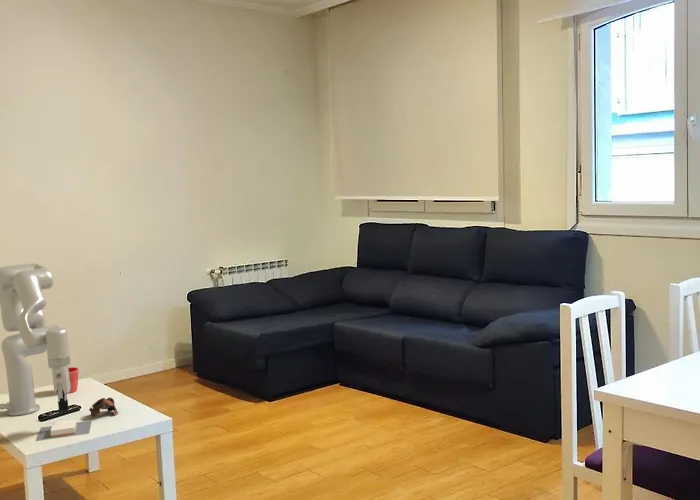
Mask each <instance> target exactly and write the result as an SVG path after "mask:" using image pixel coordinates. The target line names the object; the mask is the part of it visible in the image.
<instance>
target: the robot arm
mask: <svg viewBox="0 0 700 500" xmlns="http://www.w3.org/2000/svg"><path fill="white" fill-rule="evenodd" d="M52 274H53V273H51V271H50V269H48V268H47V267H46V266H43V265H41V264H39V263H24V264H16V265H7V266H2V267H0V315H1V321H2V326H3V328H4V331H6V332H9V333H10V332H19V333H18V334H17V333H16V334H12V335H8V336H6V337H5V338H3V339H2V341H1V344H0V347H1V348H0V349H1V352H2V356H3V359H4V363H5V364H4V365H5V369H6V370H5V371H6V380H7V388H8V389H7V390H8V398H9V399H8V400H9V401H8V402H6V403H0V410H1V411H2V410H5V409H6V411H5V412H6V415H8V416H13V417H14V416H25V415H29V414H33V413H35V412H37V411H39V410H40V409H41V405H40V404H37V403H36V396H35V395H36V394H35V386H34V385H35V384H34V375H33V367H32V365H31V363H30V362H29V361H27V360H26V357H27V358H28V357H30V356H35V355H40V354H43V353H45V352H47V353H46V355H47V365H48V369H51V372H52V383H53V391H54V394H55V395H57V404H58V405H57V406H58V412H59V413H62V412H68V411H69V402H68V401H69V400H68V394H70V393H69V391H70V388H71V385H70V378H69V370H68V368H69V366H71V358H70V348H69V347H70V346H69V336H68V335H69V334H68V330H67V328H63V327H61V326H60V325H47V324H46V316H45V312H44V310H43V309H45V307H46V306H47V299H46V297H45V295H44V293H43V291H44V290H47V289H48V290H50V289H51V288H52V287H53V285H54V276H53V275H52ZM67 393H68V394H67Z"/></svg>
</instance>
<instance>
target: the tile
mask: <svg viewBox="0 0 700 500" xmlns="http://www.w3.org/2000/svg"><path fill="white" fill-rule="evenodd" d="M77 423H78V422H77V419H73V420H71V419H70V420H64V421H63V420H62V421H57V422H53V423H52V425H51V426H52V428H51V437H58V436H65V435H72V434H75V431H76V428H77Z"/></svg>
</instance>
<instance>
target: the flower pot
mask: <svg viewBox="0 0 700 500" xmlns="http://www.w3.org/2000/svg"><path fill="white" fill-rule="evenodd" d="M68 370H69V378H70V385H71V388H70V391H69V393H67V395H69V394H71V393H75V392H78V391H77V390H78V385H79V383H78V382H79V368H78V367H74V366H73V367H68Z"/></svg>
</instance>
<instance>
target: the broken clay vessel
mask: <svg viewBox="0 0 700 500" xmlns="http://www.w3.org/2000/svg"><path fill="white" fill-rule="evenodd" d="M88 410H89V412H90V416H91V417H94V416H96V415H101V410H107V412H112V415H113V416H114V417H116V416H117V415H119V412H118V410H117V408H116V406H115V399H114V398H113V397H107V398H105V397H101V398H100V399H98V400H97V401H96V402H94V403H93V404H92V405H91V407H90V408H89V409H88Z"/></svg>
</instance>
